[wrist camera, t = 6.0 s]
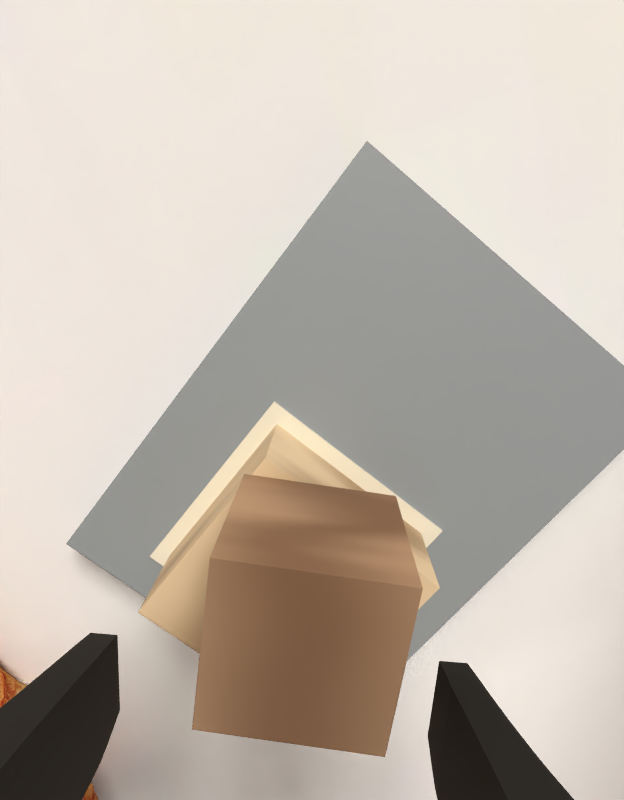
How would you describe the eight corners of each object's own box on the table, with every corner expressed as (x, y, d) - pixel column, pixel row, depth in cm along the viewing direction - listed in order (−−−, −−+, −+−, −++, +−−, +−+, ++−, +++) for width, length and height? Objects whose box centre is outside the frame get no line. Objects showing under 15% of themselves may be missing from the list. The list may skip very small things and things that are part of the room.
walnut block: (395, 496, 13) (422, 588, 10) (370, 625, 14) (384, 756, 11) (244, 474, 13) (210, 557, 10) (228, 605, 14) (192, 729, 11)
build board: (645, 395, 17) (671, 405, 16) (337, 701, 20) (338, 730, 19) (364, 150, 15) (367, 140, 14) (82, 526, 19) (64, 545, 18)
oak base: (420, 533, 17) (439, 587, 14) (308, 651, 18) (304, 723, 15) (276, 423, 16) (265, 458, 13) (169, 555, 17) (138, 612, 15)
